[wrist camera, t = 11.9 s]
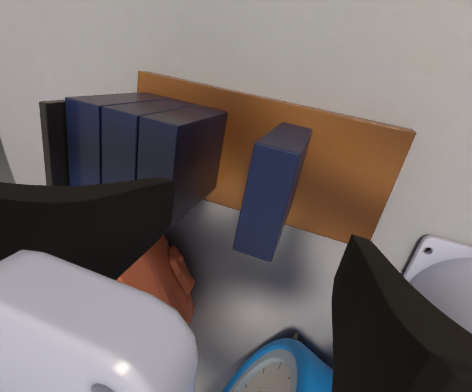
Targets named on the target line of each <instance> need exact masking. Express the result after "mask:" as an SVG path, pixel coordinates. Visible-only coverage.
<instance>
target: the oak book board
mask: <svg viewBox="0 0 472 392" xmlns="http://www.w3.org/2000/svg"><path fill="white" fill-rule="evenodd" d="M39 107H40V118H41V129H42V140H43V151H44V162H45V173H46V184H47V186H82V185H96V184H105V183H115V182H123V181H130V180H138V179H146V178H166V179H169V180H172V181H176V184H175V194H174V204H173V214H172V224H171V225H170V227H169V228H168V229H170V228H171V227H172V226H173V225H174V224H175V223H176V222H177V221H179V220H180V219H181V218H182V217H183V216H184V215H185V214H186V213H188V212H189V211H190V210H191V209H192V208H193V207H194V206H196V205H197V204H198V203H199V202H200V201H201V200H202V199H204V200H207V201H211V202H214V203H217V204H220V205H224V206H227V207H230V208H233V209H237V210H240V211H241V206H242V201H243V196H244V192H245V187H246V182H247V177H248V172H249V167H250V162H251V158H252V153H253V148H254V144H255V142H257V141H258V140H259V139H261V138H262V137H263V136H264V135H266V134H267V133H268V132H270V131H271V130H272V129H274V128H275V127H276V126H277V125H279V124H280V123H281V122H285V123H289V124H293V125H298V126H302V127H306V128H310V129H313V132H312V135H311V139H310V142H309V146H308V149H307V153H306V156H305V160H304V164H303V167H302V171H301V174H300V178H299V181H298V185H297V188H296V192H295V195H294V199H293V202H292V206H291V209H290V212H289V215H288V217H287V220H286V223H285V224H286V225H289V226H292V227H296V228H299V229H302V230H305V231H309V232H312V233H315V234H318V235H322V236H325V237H328V238H331V239H335V240H338V241H341V242H345V243H348V242H349V239H350V237H351V234H353V235H357V236H360V237H363V238H367V239H369V240H371V238H372V236H373V233H374V231H375V228H376V226H377V224H378V221H379V219H380V217H381V214H382V212H383V210H384V207H385V205H386V203H387V200H388V198H389V196H390V193H391V191H392V189H393V186H394V184H395V182H396V179H397V177H398V175H399V172H400V170H401V168H402V165H403V163H404V161H405V158H406V156H407V154H408V151H409V149H410V147H411V144H412V142H413V140H414V137H415V135H416V132H415V131H414V130H412V129H408V128H403V127H399V126H394V125H390V124H385V123H381V122H376V121H371V120H367V119H362V118H358V117H353V116H348V115H344V114H339V113H335V112H330V111H325V110H321V109H316V108H312V107H307V106H303V105H298V104H293V103H289V102H284V101H280V100H275V99H270V98H266V97H261V96H257V95H252V94H247V93H243V92H238V91H234V90H229V89H224V88H220V87H215V86H211V85H206V84H202V83H197V82H192V81H188V80H183V79H179V78H174V77H169V76H165V75H160V74H156V73H151V72H146V71H138V87H137V93H125V94H109V95H93V96H78V97H66V98H65V100H55V101H41V102H39ZM168 229H167V230H168Z"/></svg>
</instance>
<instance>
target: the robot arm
mask: <svg viewBox="0 0 472 392" xmlns="http://www.w3.org/2000/svg"><path fill="white" fill-rule="evenodd" d="M175 184H176V181H172V180H169V179H166V178H146V179H138V180H130V181H123V182H115V183H105V184H96V185H82V186H43V185H23V184H12V183H2V182H0V392H195V377H196V372H197V366H198V361H199V359H198V352H197V346H196V339H195V335H194V333H193V332H192V330H191V329H190V328H189V326H188V325H187V323H186V322H185V321H184V319H183V318H182V317H181V315H180V314H179V312H178V311H177V310H176V309H174V308H173V307H171V306H169V305H168V304H166V303H165V302H163V301H162V300H160V299H159V298H157V297H155V296H154V295H151V294H149V293H146V292H144V291H141V290H139V289H136V288H134V287H131V286H129V285H126V284H124V283H121V282H118V281H116V280H117V279H118V278H119V277H120V276H121V275H122V274H123V273H124V272H125V271H126V270H127V269H128V268H130V267H131V266H132V265H133V264H134V263H135V262H136V261H137V260H138V259H139V258H140V257H141V256H143V255H144V254H145V253H146V252H147V251H148V250H149V249H150V248H151V247H152V246H153V245H154V244H155V243H156V242H157V241H158V240H159V239H160V238H161V237H162V236H163V234H164V233H165V232H166V231H167V229H168V228H169V227H170V225H171V224H172V214H173V204H174V194H175ZM427 247H429V248H431V249H430V250H429V251H423V249H424V248H427ZM332 327H333V354H334V358H333V379H332V392H472V246H469V245H465V244H462V243H458V242H455V241H451V240H448V239H444V238H441V237H437V236H434V235H427V236H425V237H423V238H422V239H421V241H420V243H419V245H418V247H417V249H416V251H415V253H414V255H413V257H412V259H411V261H410V263H409V265H408V267H407V269H406V271H405V273H404V275H403V276H402V275H401V274H400V273H399V272H398V270H397V269H396V268H395V267H394V266H393V265H392V264H391V263H390V262H389V261H388V259H387V258H386V257H385V256H384V255H383V254H382V253H381V251H380V250H379V249H378V248H377V247H376V246H375V245H374V244H373V243H372V242H371V241H370V240H369V239H367V238H363V237H360V236H357V235H353V234H351V237H350V239H349V242H348V244H347V247H346V250H345V252H344V255H343V257H342V260H341V262H340V265H339V267H338V270H337V273H336V275H335V278H334V285H333V293H332Z"/></svg>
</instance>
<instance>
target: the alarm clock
mask: <svg viewBox="0 0 472 392" xmlns="http://www.w3.org/2000/svg"><path fill="white" fill-rule="evenodd" d="M297 336H298V333H297V332H294V334H293V335H292V336H291V338H282V339H277V340H275V341H272V342H270V343H268V344H266V345H265V346H263V347H262V348H260V349H259V350H258V351H256V352H255V353H254V354H253V355H252V356H251V357H250V358H248V359H247V360H246V361H245V363H244V364H243V365H242V366H241V367H240V368H239V369H238V370H237V372H236V373H235V374H234V375H233V377H232V378H231V379H230V381H229V382H228V383H227V385H226V386H225V388H224V389H223V391H222V392H332V379H333V370H332V369H331V368H330V367H329V366H327V365H326V364H325V363H324V362H323V361H322V360H321V359H319V358H318V357H317V356H316V355H315V354H314V353H313V352H312V351H310V350H309V349H308V348H307V347H306V346H305V345H304V344H302V343H301V342H299V341H297Z"/></svg>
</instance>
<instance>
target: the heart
mask: <svg viewBox="0 0 472 392" xmlns="http://www.w3.org/2000/svg"><path fill="white" fill-rule="evenodd" d="M116 281H118V282H121V283H124V284H126V285H129V286H131V287H134V288H136V289H139V290H141V291H144V292H146V293H149V294H151V295H154V296H155V297H157V298H159V299H160V300H162V301H163V302H165V303H166V304H168V305H169V306H171V307H173V308H174V309H176V310H177V311H178V312H179V314H180V315H181V317H182V318H183V319H184V321H185V322H186V323H187V325H188V324H189V322H190V320H191V318H192V317H193V314H194V304H193V301H192V296H191V293H190V292H191V290H192V289H193V286H194V285H195V280H194V279H193V278H192V277H191V275H190V273H189V271H188V269H187V267H186V264H185V262H184V257H183V255H182V254H180V252H179V250H178V249H177V247H175V246H169V245H168V241H167V239H166V238H165V236H164V235H163V236H162V237H161V238H160V239H159V240H158V241H157V242H156V243H155V244H154V245H153V246H152V247H151V248H150V249H149V250H148V251H147V252H146V253H145V254H144V255H143V256H141V257H140V258H139V259H138V260H137V261H136V262H135V263H134V264H133V265H132V266H131V267H130V268H128V269H127V270H126V271H125V272H124V273H123V274H122V275H121V276H120V277H119V278H118V279H117V280H116Z"/></svg>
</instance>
